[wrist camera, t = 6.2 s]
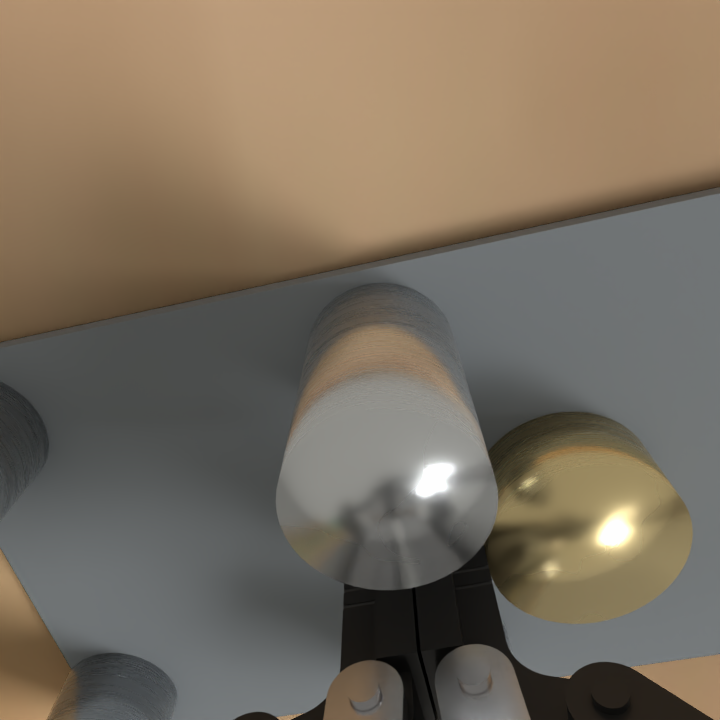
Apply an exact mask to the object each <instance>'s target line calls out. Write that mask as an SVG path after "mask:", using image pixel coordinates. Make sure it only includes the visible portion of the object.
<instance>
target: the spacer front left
mask: <svg viewBox="0 0 720 720" xmlns="http://www.w3.org/2000/svg"><path fill="white" fill-rule="evenodd" d="M48 453H49V439H48V434H47V430H46V427H45V425H44V422H43V420H42V419H41V417H40V415H39V413H38V412H37V411H36V409H35V408H34V407H33V406H32V404H31V403H30V402H29V401H28V400H27V399H26V398H25V397H23V396H22V395H21V394H20V393H19V392H17V391H16V390H14V389H13V388H12V387H10V386H8V385H6V384H5V383H3V382H1V381H0V522H1V520H2V519H3V518H4V517H5V515H6V514H7V513H8V512H9V510H10V509H11V508H12V507H13V505H14V504H15V503H16V502H17V500H18V499H19V498H20V497H21V495H22V494H23V493H24V491H25V490H26V489H27V488H28V486H29V485H30V484H31V483H32V481H33V480H34V479H35V478H36V476H37V475H38V474H39V473H40V471H41V470H42V468H43V467H44V465H45V463H46V460H47V457H48Z"/></svg>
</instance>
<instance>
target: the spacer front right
mask: <svg viewBox="0 0 720 720" xmlns="http://www.w3.org/2000/svg"><path fill="white" fill-rule="evenodd" d="M276 510H277V516H278V520H279V524H280V526H281V529H282V531H283V533H284V536H285V537H286V539H287V540H288V542H289V544H290V545H291V547H292V548H293V549H294V550H295V551H296V553H297V554H298V555H299V556H300V557H301V558H302V559H303V560H304V561H305V562H306V563H308V564H309V565H310V566H312V567H313V568H314V569H316V570H317V571H319V572H320V573H322V574H324V575H326V576H328V577H329V578H332V579H334V580H336V581H339V582H341V583H344V584H348V585H351V586H354V587H360V588H365V589H373V590H400V589H408V588H413V587H418V586H422V585H425V584H428V583H431V582H434V581H437V580H439V579H441V578H443V577H446V576H447V575H449V574H451V573H453V572H454V571H456V570H458V569H459V568H460V567H462V566H463V565H464V564H466V563H467V562H468V561H469V560H470V559H471V558H472V557H473V556H474V555H475V554H476V553H477V552H478V551H479V549H480V548H481V547H482V546H483V544H484V543H485V541H486V540H487V538H488V536H489V535H490V533H491V530H492V528H493V525H494V523H495V519H496V515H497V510H498V490H497V484H496V480H495V476H494V473H493V469H492V466H491V462H490V459H489V455H488V452H487V449H486V445H485V442H484V438H483V435H482V431H481V428H480V425H479V421H478V418H477V414H476V411H475V407H474V404H473V401H472V397H471V394H470V390H469V387H468V383H467V380H466V377H465V373H464V370H463V366H462V363H461V359H460V356H459V352H458V349H457V346H456V342H455V339H454V335H453V332H452V329H451V327H450V324H449V322H448V320H447V318H446V317H445V315H444V313H443V312H442V311H441V310H440V308H439V307H438V306H437V305H436V304H435V303H434V302H433V301H432V300H430V299H429V298H427V297H426V296H425V295H423V294H421V293H420V292H418V291H416V290H414V289H411V288H408V287H406V286H402V285H397V284H390V283H374V284H367V285H363V286H359V287H356V288H353V289H351V290H348V291H346V292H345V293H343V294H341V295H339V296H338V297H336V298H335V299H334V300H333V301H331V302H330V303H329V304H328V305H327V306H326V307H325V308H324V309H323V311H322V312H321V313H320V315H319V316H318V318H317V320H316V321H315V323H314V325H313V328H312V331H311V334H310V338H309V343H308V347H307V352H306V356H305V361H304V366H303V370H302V375H301V379H300V384H299V389H298V393H297V398H296V402H295V407H294V412H293V416H292V421H291V425H290V430H289V434H288V439H287V444H286V448H285V453H284V457H283V462H282V467H281V471H280V476H279V480H278V485H277V490H276Z"/></svg>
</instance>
